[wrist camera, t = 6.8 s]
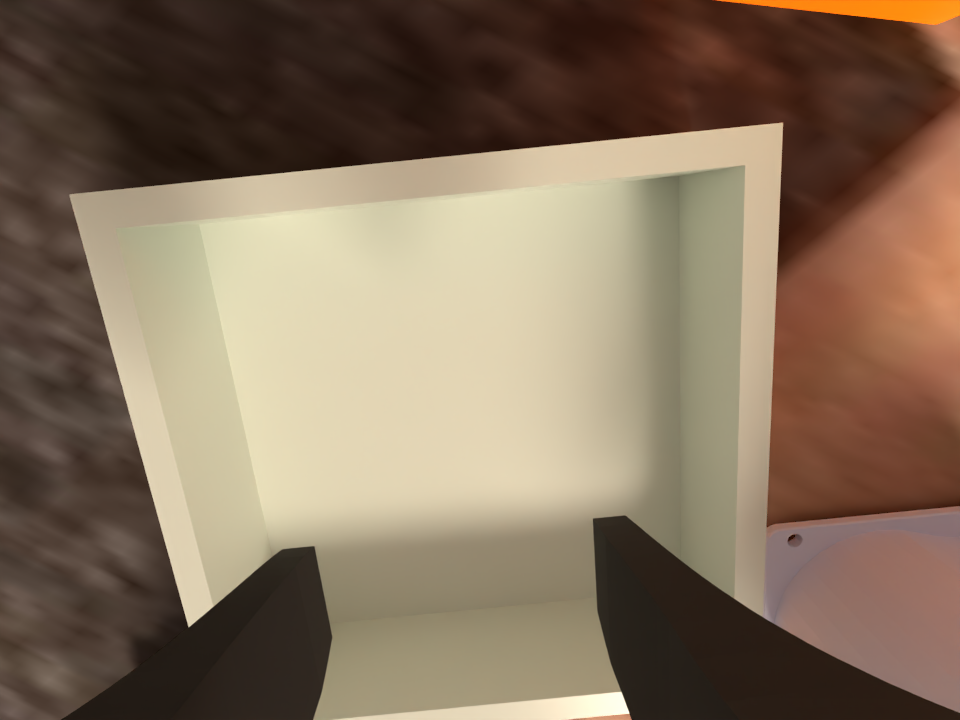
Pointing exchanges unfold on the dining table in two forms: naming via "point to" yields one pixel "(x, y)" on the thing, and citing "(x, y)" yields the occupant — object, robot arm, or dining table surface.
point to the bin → (455, 396)
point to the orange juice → (874, 8)
